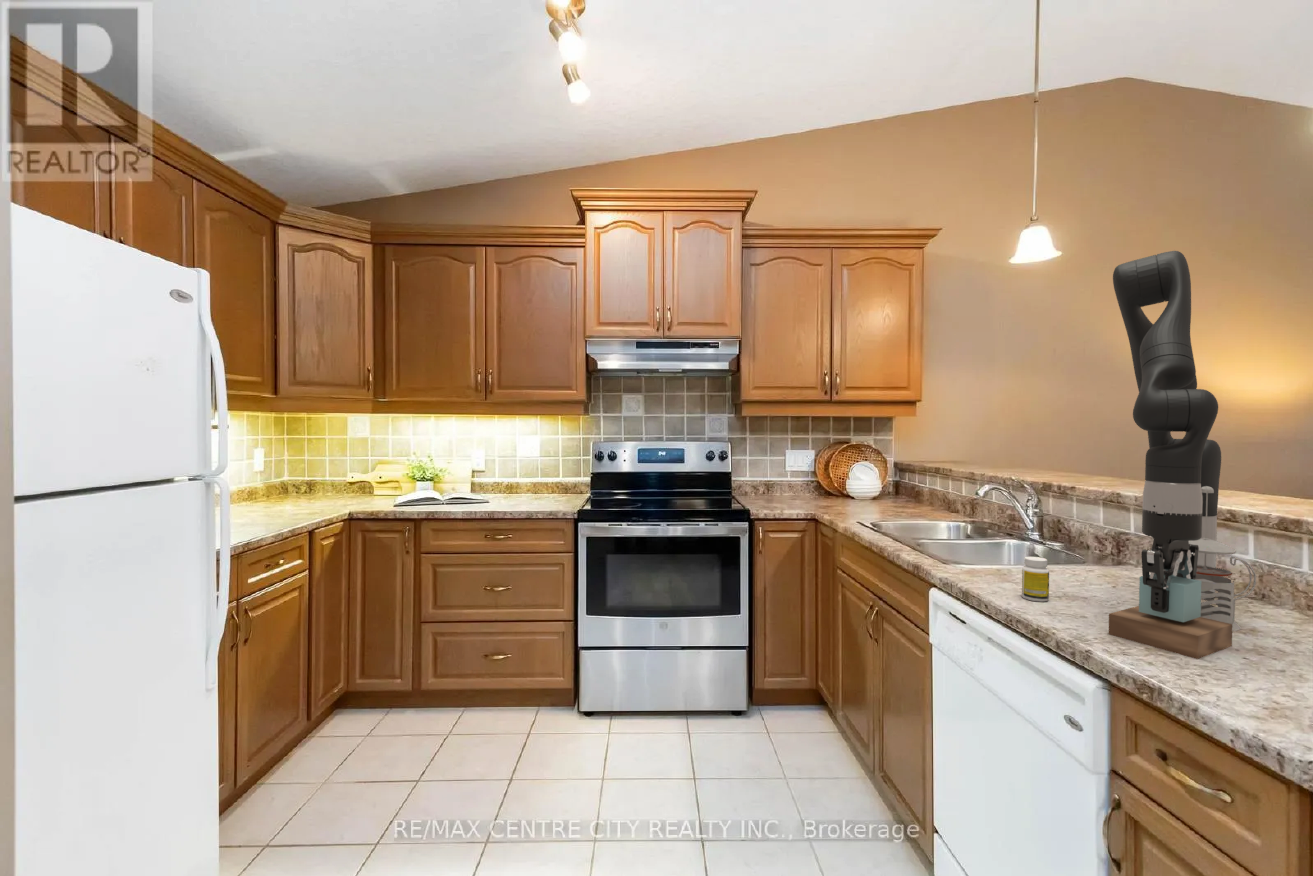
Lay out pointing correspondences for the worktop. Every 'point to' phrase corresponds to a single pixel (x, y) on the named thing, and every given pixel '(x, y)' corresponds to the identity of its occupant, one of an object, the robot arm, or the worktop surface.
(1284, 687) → the worktop surface
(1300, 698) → the worktop surface
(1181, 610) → the teal cube
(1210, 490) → the french press
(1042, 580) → the supplement bottle
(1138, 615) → the walnut block
